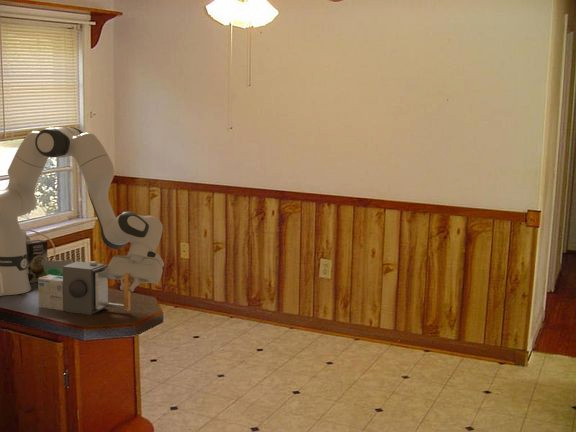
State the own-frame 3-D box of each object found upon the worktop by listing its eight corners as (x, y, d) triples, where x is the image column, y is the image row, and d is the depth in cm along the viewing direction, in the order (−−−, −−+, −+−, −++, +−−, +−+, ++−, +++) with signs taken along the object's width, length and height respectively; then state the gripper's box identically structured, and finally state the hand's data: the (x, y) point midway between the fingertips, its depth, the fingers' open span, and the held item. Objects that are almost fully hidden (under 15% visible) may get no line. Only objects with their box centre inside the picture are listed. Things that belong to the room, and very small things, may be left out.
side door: (95, 311, 258) (95, 272, 256) (105, 306, 265) (105, 268, 262) (121, 314, 256) (121, 275, 254) (130, 309, 262) (130, 271, 260)
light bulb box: (74, 306, 267) (74, 277, 266) (63, 311, 261) (62, 281, 260) (49, 302, 271) (49, 273, 269) (37, 307, 265) (37, 277, 263)
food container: (40, 286, 293) (39, 261, 291) (41, 283, 299) (41, 258, 297) (72, 286, 296) (72, 261, 294) (73, 282, 302) (73, 258, 300)
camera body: (60, 312, 259) (59, 264, 256) (77, 304, 269) (77, 258, 267) (91, 316, 255) (90, 268, 253) (107, 308, 266) (107, 261, 263)
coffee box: (28, 283, 297) (28, 243, 294) (19, 281, 301) (18, 241, 298) (48, 280, 304) (47, 240, 302) (39, 277, 308) (38, 238, 306)
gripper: (110, 249, 268) (96, 282, 260) (162, 254, 262) (149, 288, 254) (116, 259, 272) (103, 291, 265) (168, 264, 267) (155, 297, 259)
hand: (126, 290), depth 259 cm, fingers closed on side door, 2 cm apart
